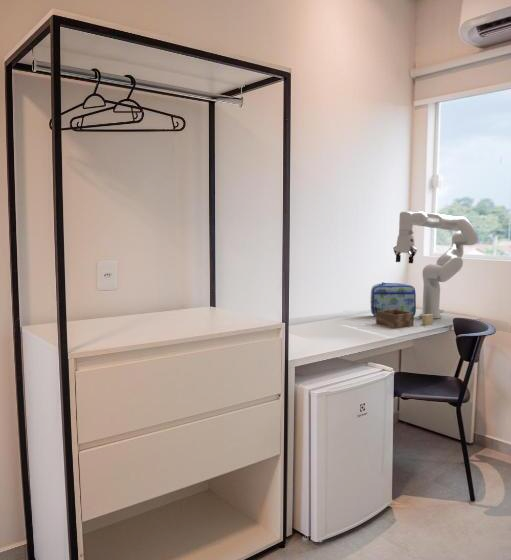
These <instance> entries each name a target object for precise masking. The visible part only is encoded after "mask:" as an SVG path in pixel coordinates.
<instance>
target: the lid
mask: <svg viewBox="0 0 511 560" xmlns="http://www.w3.org/2000/svg"><path fill="white" fill-rule="evenodd" d="M421 318H422V319H421V325H423V326H429V325H430V326H431V325H434V319H433V314H425V315H422V317H421ZM442 328H447V326H444V327H442Z"/></svg>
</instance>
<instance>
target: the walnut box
mask: <svg viewBox="0 0 511 560" xmlns="http://www.w3.org/2000/svg"><path fill="white" fill-rule="evenodd" d="M375 318H376V319H375V324H376V325H379V326H383V327H387V328H392V329H402V328H408V327H414V325H415V323H414V320H415V315H414V313H411V312H406V311H401V310H396V309H392V310H384V311H377V312H376V317H375Z"/></svg>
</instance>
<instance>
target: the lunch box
mask: <svg viewBox="0 0 511 560" xmlns="http://www.w3.org/2000/svg"><path fill="white" fill-rule="evenodd" d="M370 289H371V290H370V312H371V314H372V315H373V317H375V318H376V312H377V311H384V310H392V309H396V310H401V311H406V312H411V313H414V316H416V312H417V310H416V309H417V305H416V303H417V302H416V299H417V298H416V297H417V296H416V295H417V294H416V289H415V287H414V286H413V285H410V284H407V283H398V282H396V283H394V282H391V283H390V282H384V281H383V282H381V283H377V284H374V285H372V286H371V288H370Z"/></svg>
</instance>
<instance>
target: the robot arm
mask: <svg viewBox="0 0 511 560" xmlns="http://www.w3.org/2000/svg"><path fill="white" fill-rule="evenodd" d="M398 225H399V226H398V227H399V228H398V235H397V240H396V245H395V246H394V247H392V248H393V253H394V255H395V262H396V263H401V258H402V257H401V254H402V253H403V254H408V255H409V256H408V264H414V257H415V255H416V254H417V252H418V248H417V247H415V238H414V235H413V234H414V231H413V227H414V226H417V227H418V226H419V227H426V228H431V229H441V230H446V231H454V233H453V234H452V236H451V246H450V248H448V250H446V251H445V252H444V253H443V254H442V255H440V256H439V257H438V258H437V260H436V264H427V265H425V266H424V267H423V269H422V280H423V281H422V282H423V293H422V313H419V317H421V318H422V315H425V314H433V320H434V319H441V318H442V313H444V309H440V301H441V299H440V298H441V284H440V283H446V282H447V281H449V280H451V278H453V277H454V276H455V275H456V274H457V273H459V272H460V270H461V269H462V267H463V264H464V261H463V255H464V246H474V245H476V244H477V243H478V240H479V237H478V233H477V230H476V229H475V228H474V227H473V225H472V223H471V222H470V221H469V220H468V219H467V217H465V216H460V215H459V216H453V215H447V214H441V213H426V212H424V211H401V212H400V213H399V223H398Z"/></svg>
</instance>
